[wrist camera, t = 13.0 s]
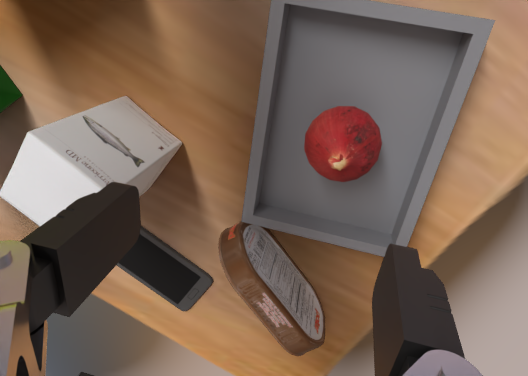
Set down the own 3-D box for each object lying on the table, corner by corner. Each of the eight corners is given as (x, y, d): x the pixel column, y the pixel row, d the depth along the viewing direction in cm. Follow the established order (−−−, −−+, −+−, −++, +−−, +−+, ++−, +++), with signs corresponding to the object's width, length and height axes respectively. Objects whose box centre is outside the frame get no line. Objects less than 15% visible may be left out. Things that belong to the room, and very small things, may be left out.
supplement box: (185, 141, 38) (113, 198, 26) (150, 189, 41) (72, 257, 30) (126, 91, 37) (25, 129, 26) (95, 144, 40) (-6, 197, 29)
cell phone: (188, 309, 48) (185, 314, 48) (97, 246, 47) (93, 249, 46) (217, 277, 45) (214, 281, 44) (119, 207, 44) (115, 210, 43)
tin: (231, 214, 40) (202, 261, 33) (253, 201, 39) (229, 247, 31) (310, 313, 44) (300, 376, 36) (333, 304, 42) (328, 368, 35)
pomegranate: (351, 81, 31) (348, 103, 24) (393, 135, 32) (403, 171, 25) (297, 125, 33) (280, 157, 26) (337, 173, 34) (332, 216, 27)
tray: (282, -13, 30) (273, -15, 27) (479, 18, 28) (495, 20, 25) (250, 204, 39) (241, 221, 36) (397, 239, 37) (401, 261, 34)
